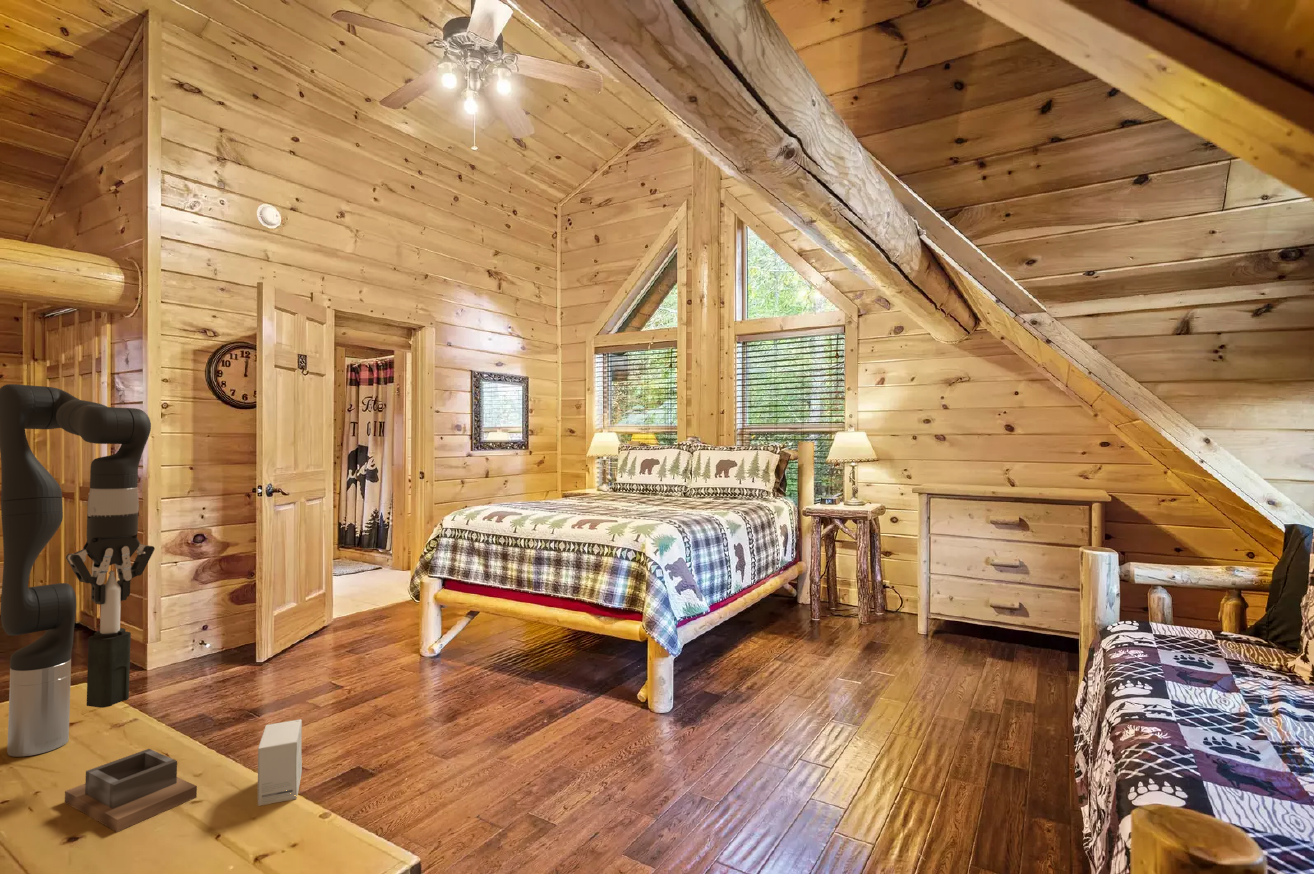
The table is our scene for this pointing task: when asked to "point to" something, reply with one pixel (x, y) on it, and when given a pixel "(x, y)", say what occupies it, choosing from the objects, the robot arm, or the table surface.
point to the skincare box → (279, 762)
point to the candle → (109, 653)
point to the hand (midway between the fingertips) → (110, 601)
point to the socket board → (131, 790)
